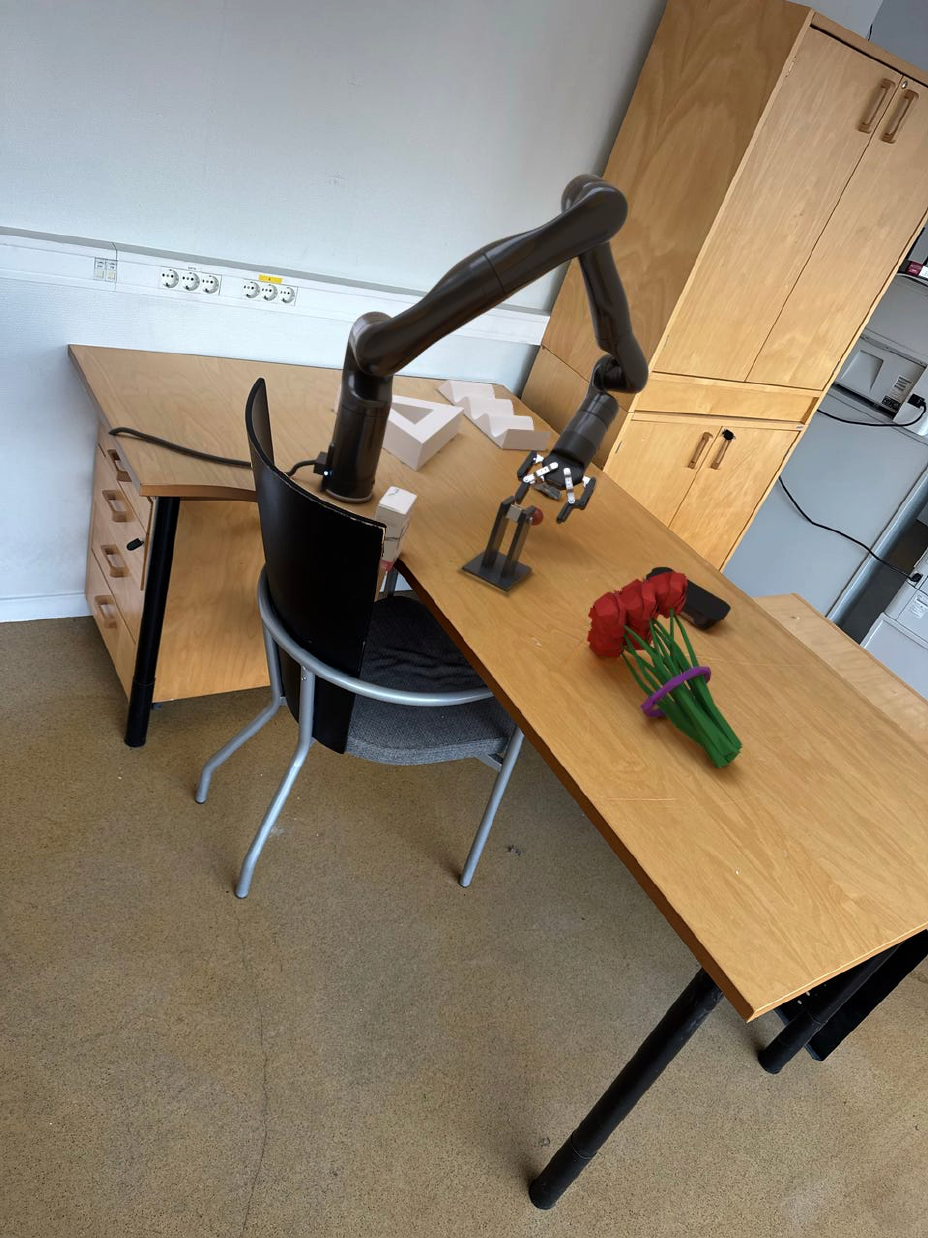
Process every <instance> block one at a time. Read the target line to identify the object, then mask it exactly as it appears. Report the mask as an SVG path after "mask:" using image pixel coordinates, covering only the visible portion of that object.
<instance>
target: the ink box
mask: <svg viewBox="0 0 928 1238" xmlns="http://www.w3.org/2000/svg"><path fill="white" fill-rule="evenodd" d="M417 499H418V494H416V493H413V492H411V491H408V490H405V489H404V488H401V487H398V486H393V485H391V486H389V488H388V489H387V490H386V492H384V495H383V496H382V497H381V498H380V499H379V501H378V504H377V506H376V511H375V513H374V518H373V521H374V520H375V521H378V522H382V523H384V524H385V525H386V526H387V528H386V534H385V541H384V553H383V557H382V560H381V568H380V569H379V570H380V571H384V572H387V573H388V572H390V570H392V567H393V566H394V564H395V562H396V561H397V559H398V558H399V556H400V554H401V552H402V549H403V546H404V543H405V540H406V536H407V533H408V529H409V526H410V522H411V519H412V516H413V512H414V510H415V506H416V502H417Z"/></svg>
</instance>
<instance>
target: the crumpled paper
mask: <svg viewBox="0 0 928 1238" xmlns="http://www.w3.org/2000/svg"><path fill="white" fill-rule="evenodd" d="M533 488H534V490H537V491H539V492H542V493H544V494H545V495H547V496H548V497H549V498H552V499H555V500H560V499H561V497H562V491H560V490H557V489H556V488H555V487H552V486H549V485H547V484H546V482H544V483H542V484H540V485H534V486H533Z"/></svg>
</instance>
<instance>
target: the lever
mask: <svg viewBox="0 0 928 1238" xmlns="http://www.w3.org/2000/svg"><path fill="white" fill-rule="evenodd" d="M524 510H526V509H524V508H523V507H521V506H519V505H517V504H514V505H511V506H510V508H509V511H508V513H507V515H506V518H508V519H509V521H512V522H514V523H516V524H518V522H519V519H520V516H521V513H522V512H523V511H524ZM544 518H545V515H544V511H543V509H541V508H540V507H537V509H536V512H535V515H534V518H533V522H532V523H531V526H532V527H536V526H539V525H540V524H541V523H542V522H544Z"/></svg>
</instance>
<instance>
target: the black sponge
mask: <svg viewBox="0 0 928 1238" xmlns="http://www.w3.org/2000/svg"><path fill="white" fill-rule="evenodd" d="M673 571H675V570H674V569H673V568H671V567H668V566H656V567H652V569H651V571H650V572H649V573H647V574H645V579H646V580H648V581H649V578H650V577H653V576H656V575H660V574H662V573H665V572H668V573H669V572H673ZM731 609H732V607H731V605H729V603H727V602H726V601H725V600H724V599H722V598H720V597H719V596H717V595H715V594H714V593H711V592H710V591H709V590H706V589H705V588H703V587H702V586H699V584H696V583H695V582H693V581H691V580H689V578H687V589H686V602H685V603H684V605H683V607H682V608H681V610H682V611H683V612H682V613H679V614H678V615H679V616H680V617H682V618H683V619H686V621H688V622H690V623H692V624H693V625H694V626H696V627H697V628H699V629H702V630H709V629H711V628H713V627H715V626H716V625H717V624H718V623H719V622H721V621H724V620H725V619H726V618H727V616H728V614H729V613H730V611H731Z"/></svg>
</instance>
